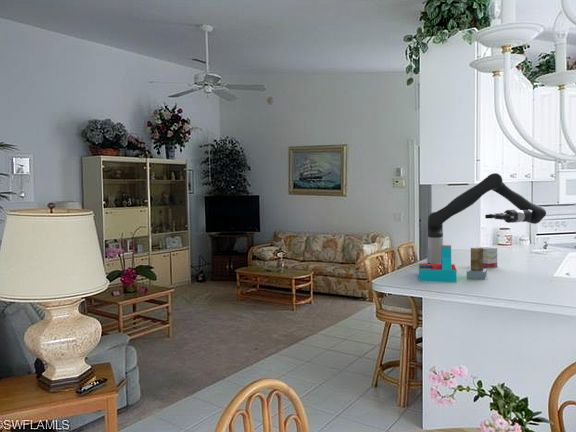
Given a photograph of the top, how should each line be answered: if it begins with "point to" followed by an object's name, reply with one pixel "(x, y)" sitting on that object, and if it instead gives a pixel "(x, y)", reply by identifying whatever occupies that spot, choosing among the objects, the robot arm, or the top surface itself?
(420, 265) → the building blocks toy
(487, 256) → the ink box
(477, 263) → the pillar
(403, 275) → the top surface
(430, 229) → the robot arm
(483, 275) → the plinth
